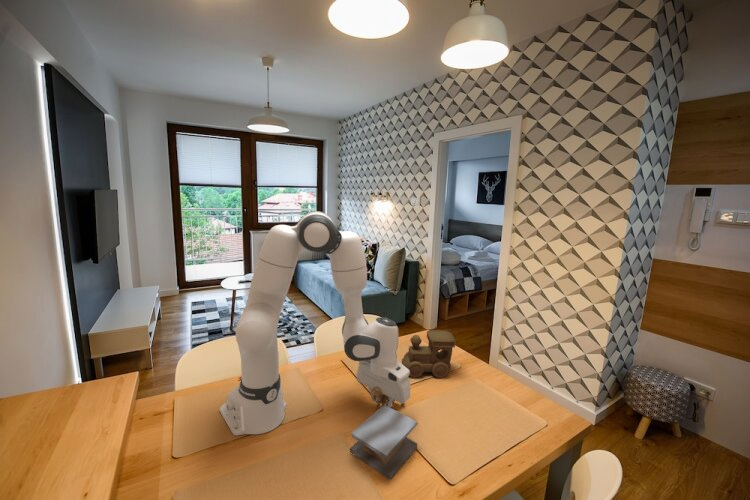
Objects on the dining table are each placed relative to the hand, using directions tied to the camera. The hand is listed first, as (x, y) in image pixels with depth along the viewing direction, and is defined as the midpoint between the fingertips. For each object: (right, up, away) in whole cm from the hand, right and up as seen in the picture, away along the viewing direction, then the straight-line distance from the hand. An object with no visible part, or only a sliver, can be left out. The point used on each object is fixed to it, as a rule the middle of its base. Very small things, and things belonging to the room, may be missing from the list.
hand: (381, 402), depth 110 cm
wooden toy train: (+20, +1, +26) cm, 32 cm away
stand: (0, -6, -17) cm, 18 cm away
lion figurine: (+2, -3, +1) cm, 4 cm away
